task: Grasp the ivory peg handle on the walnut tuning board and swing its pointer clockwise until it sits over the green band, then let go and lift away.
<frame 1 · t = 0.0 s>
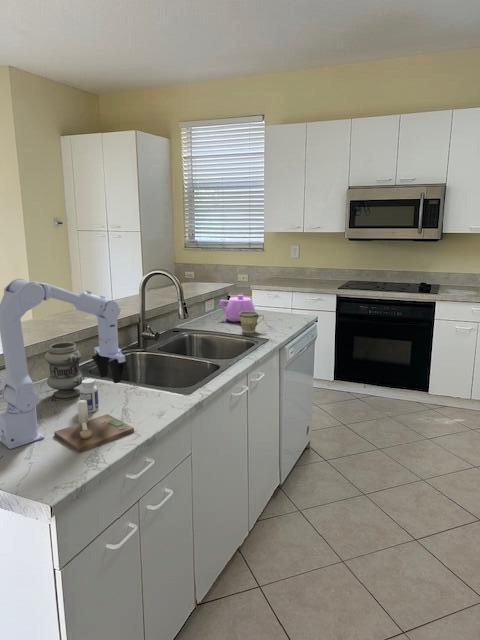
hand: (110, 379, 152), 10 cm above the worktop, tool pointing down, fingers open, 7 cm apart
apothecary jar: (67, 395, 166), on the worktop
tuner board: (94, 433, 137), on the worktop
teapot: (240, 320, 282), on the worktop
pill bottle: (90, 410, 154), on the worktop
peg lever: (84, 418, 135), point 5 cm above the worktop, hinge at 65.0°
ceramic cup: (251, 332, 256), on the worktop
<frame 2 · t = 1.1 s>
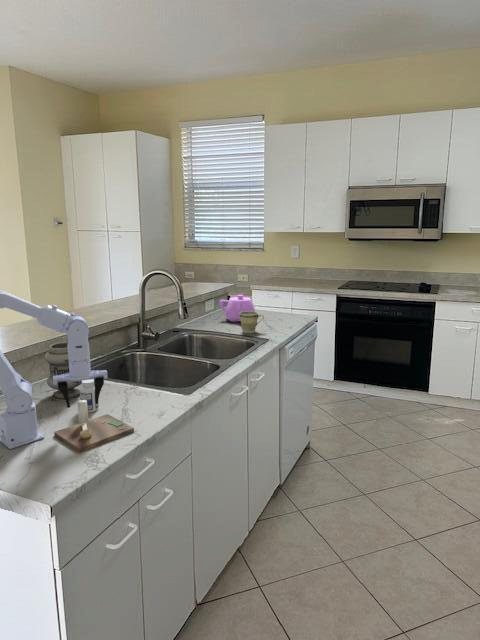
hand: (82, 404, 138), 8 cm above the worktop, tool pointing down, fingers open, 7 cm apart
nothing on the worktop moved.
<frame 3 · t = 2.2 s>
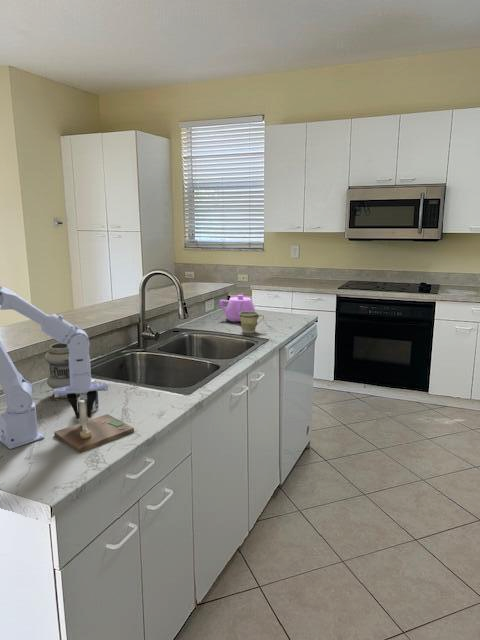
hand: (83, 416, 139), 4 cm above the worktop, tool pointing down, fingers closed on peg lever, 3 cm apart
peg lever: (84, 418, 135), point 5 cm above the worktop, hinge at 65.0°, touching gripper
everything else where it was.
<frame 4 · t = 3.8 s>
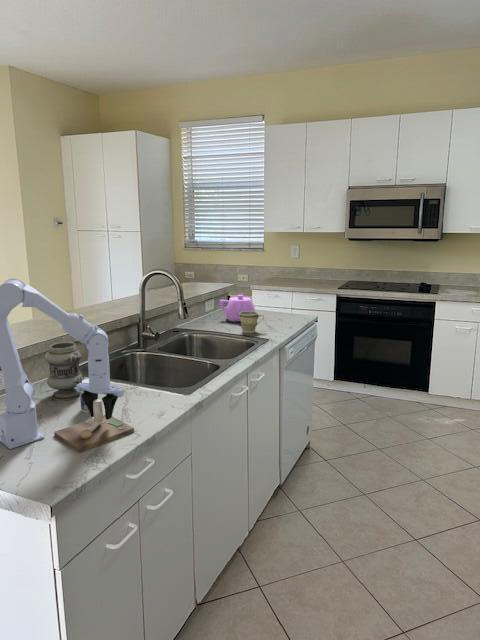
hand: (101, 416, 139), 4 cm above the worktop, tool pointing down, fingers open, 4 cm apart
peg lever: (91, 418, 135), point 5 cm above the worktop, hinge at 34.1°, touching gripper
everything else where it was.
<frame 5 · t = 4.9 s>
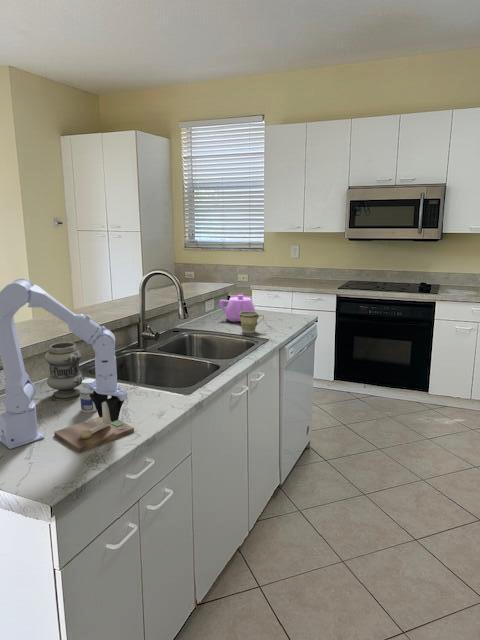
hand: (108, 418, 138), 4 cm above the worktop, tool pointing down, fingers open, 5 cm apart
peg lever: (96, 419, 135), point 5 cm above the worktop, hinge at 12.1°
everything else where it was.
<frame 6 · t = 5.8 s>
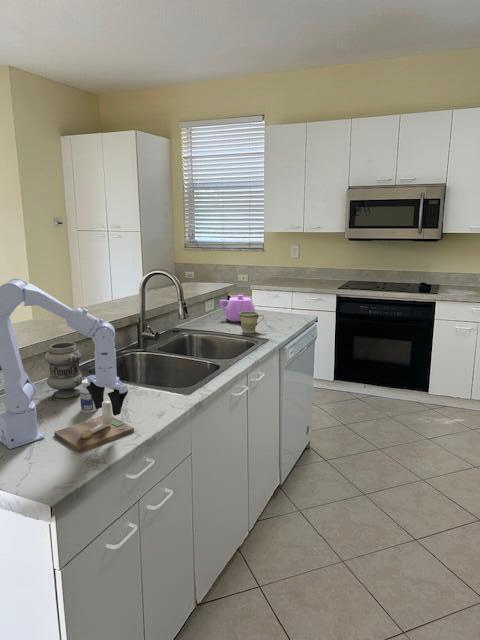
hand: (108, 411, 138), 6 cm above the worktop, tool pointing down, fingers open, 7 cm apart
nothing on the worktop moved.
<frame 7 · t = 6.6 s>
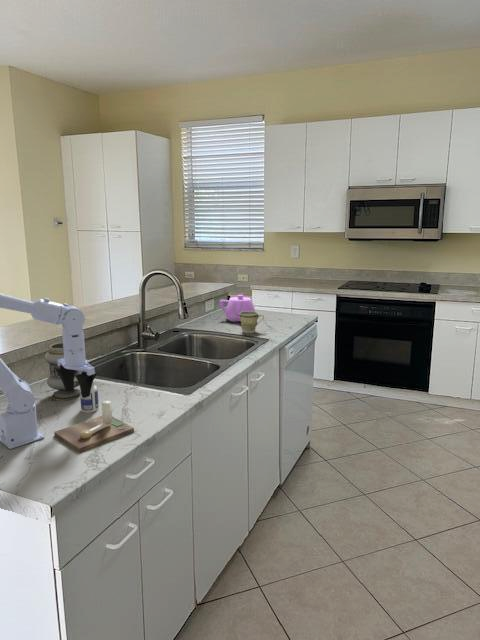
hand: (77, 393, 139), 10 cm above the worktop, tool pointing down, fingers open, 7 cm apart
nothing on the worktop moved.
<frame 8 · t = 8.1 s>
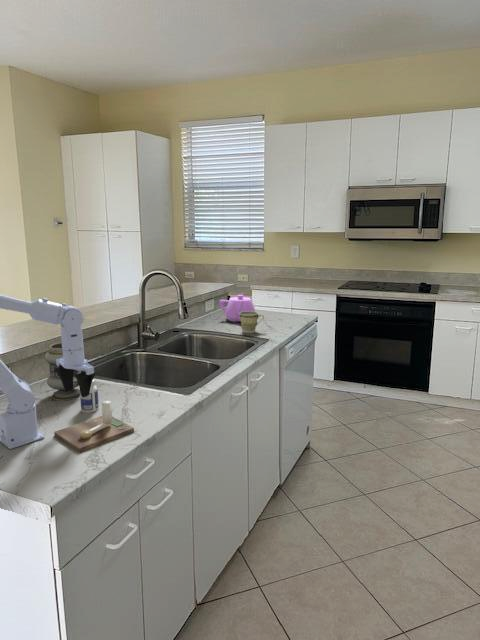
hand: (77, 393, 139), 10 cm above the worktop, tool pointing down, fingers open, 7 cm apart
nothing on the worktop moved.
at the end: peg lever at +12° (first picture: +65°); the gripper is holding nothing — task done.
